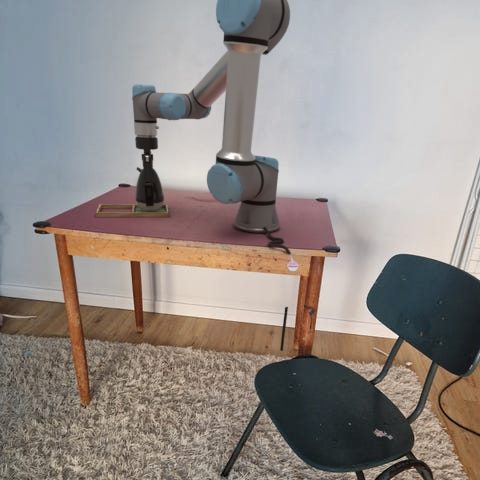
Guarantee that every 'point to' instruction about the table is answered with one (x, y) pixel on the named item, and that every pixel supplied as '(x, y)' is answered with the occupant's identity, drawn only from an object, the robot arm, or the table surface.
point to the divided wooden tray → (134, 213)
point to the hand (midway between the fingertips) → (149, 202)
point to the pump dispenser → (157, 191)
